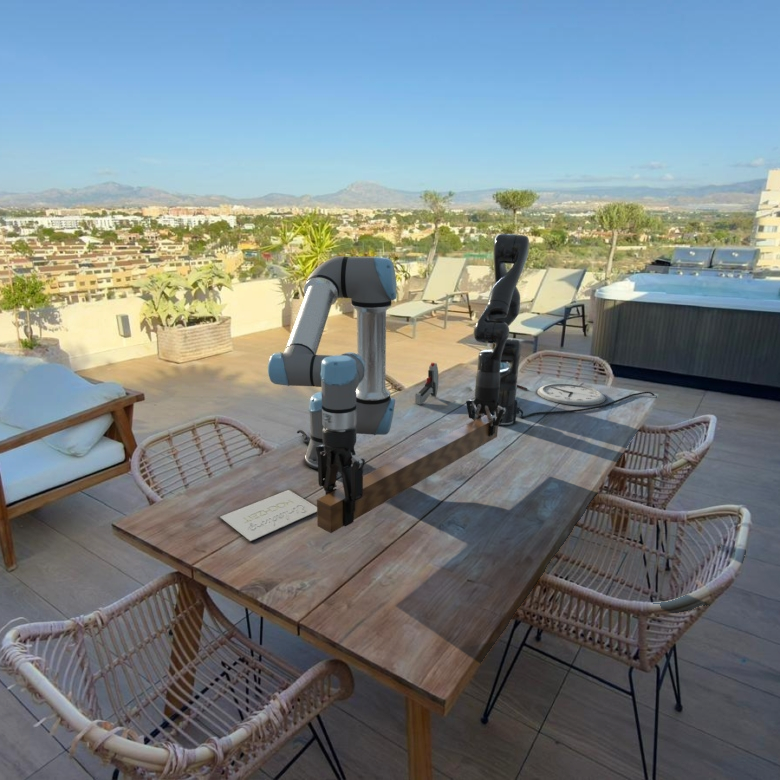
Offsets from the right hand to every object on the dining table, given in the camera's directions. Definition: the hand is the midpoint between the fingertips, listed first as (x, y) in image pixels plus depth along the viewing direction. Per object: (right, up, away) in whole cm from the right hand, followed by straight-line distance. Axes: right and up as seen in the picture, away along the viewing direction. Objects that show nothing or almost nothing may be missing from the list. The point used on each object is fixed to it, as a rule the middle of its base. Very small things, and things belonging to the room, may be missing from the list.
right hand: (484, 433), depth 170 cm
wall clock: (+53, +12, +71) cm, 89 cm away
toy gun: (-14, +9, +60) cm, 63 cm away
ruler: (+30, +16, +83) cm, 90 cm away
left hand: (-42, -16, -48) cm, 66 cm away
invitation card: (-62, -19, -32) cm, 72 cm away
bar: (-21, -9, -24) cm, 33 cm away
